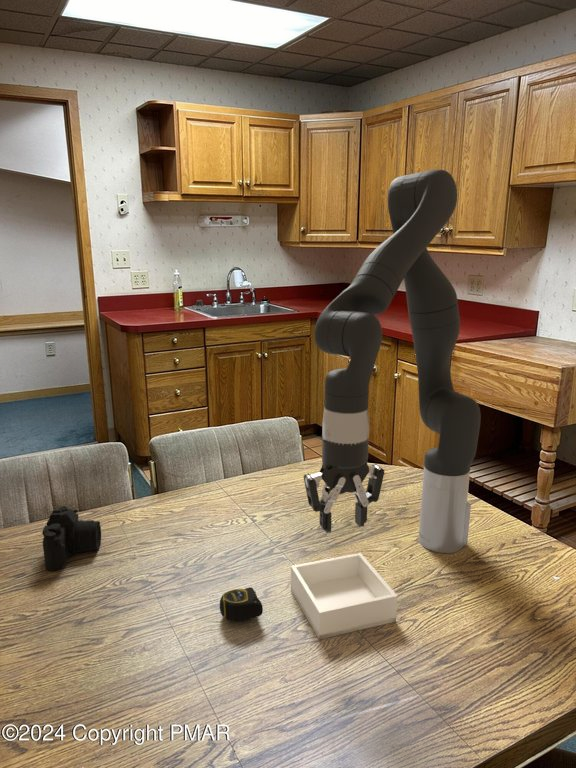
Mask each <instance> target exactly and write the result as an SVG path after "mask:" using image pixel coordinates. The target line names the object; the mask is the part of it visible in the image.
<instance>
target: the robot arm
mask: <svg viewBox="0 0 576 768" xmlns="http://www.w3.org/2000/svg"><path fill="white" fill-rule="evenodd" d="M457 202H458V189H457V184H456V182H455V179H454V177H453V176H452V174H451V173H450V172H449V171H447V170H444V169H431V170H426V171H420V172H414V173H410V174H406V175H401V176H398V177H396V178H394V179H393V180H392V181H391V183H390V185H389V187H388V190H387V208H388V216H389V220H390V224H391V229H392V233H393V234H392V235H391V236H389V237H388V238H387V239H385V240H384V241H383V242H381V243H380V244H379V245H378V246H377V247H376V248H375V249H374V250H373V251H372V252H371V253H369V255H368V256H367V257H366V259H365V260H364V262H363V263H362V264H361V266H360V268H359V270H358V272H357V273H356V275H355V277H354V279H353V280H352V282H351V283H350V284H349V286H348V287H347V288H345V289H343V290H342V292H340V293H339V295H337V296H336V297H335V298H334V299H333V300H332V301H331V302H330V303H329V304H328V305H327V306H326V307H325V308H324V309H323V311H322V312H321V313H320V314H319V316H318V318H317V320H316V323H315V325H314V326H315V327H314V330H313V331H314V333H313V337H314V342H315V344H316V347H317V348H318V349H319V350H320V351H322V352H323V353H327V354H331V355H335V356H337V355H338V356H343V357H349V358H350V359H349V363H348V365H347V367H346V368H345V367H344V368H337V369H332V370H331V371H329V372H327V374H326V375H325V379H324V398H323V399H324V404H323V415H322V431H321V433H322V434H321V436H322V437H321V439H322V440H321V444H322V445H321V463H322V464H321V467H320V469H319V472H316V473H314V474H310V473H305V474H304V475H303V482H304V487H305V492H306V498H307V502H308V505H309V507H311V508H312V510H313V511H314V512H316V513H318V512H319V526H320V527H321V528H322V530H323V531H325V533H326V534H327V533H329V534H330V533H332V512H331V511H332V508H333V505H334V503H335V502H337V500H338V498H339V495H342V494H343V495H344V494H346V493H353V494H354V496H355V497H354V498H355V500H356V502H355V503H354V504H355V508H354V509H355V510H354V514H355V515H354V522H355V524H356V525H357V527H359V528H361V527H364V526H365V523H367V520H368V507H369V505H370V504H371V503H372V502H373V503H376V502H378V501H379V499H380V494H381V490H382V484H383V480H384V475H385V469H383V467H381V466H379V464H377V463H373V464H371V465H369V464H368V460H369V443H370V442H369V440H370V439H369V435H370V434H369V433H370V415H369V396H370V395H369V392H370V382H371V379H372V375H373V372H374V371H373V370H374V367H375V364H376V361H377V357H378V354H379V352H380V349H381V346H382V341H383V327H382V324H381V323H380V320H379V319H378V318H377V316H378V315H382V314H383V313H384V312H386V310H388V308H389V306H390V305H391V302H392V301H393V299H394V297H395V295H396V294H397V292H398V291H399V288H400V286H401V284H402V282H403V281H404V288H405V295H406V296H405V297H406V304H407V311H408V319H409V325H410V329H411V335H412V340H413V348H414V355H415V362H416V369H417V379H418V380H417V383H418V407H419V415H420V417H421V421H422V423H423V424H424V426H426V427H427V428H428V429H429V430H431V431H432V432H434V433H436V434H438V435H439V439H438V445H437V447H433V448H430V449H429V450H427V451H426V452H425V453H424V460H423V473H422V474H423V475H422V486H421V502H420V515H419V529H418V542H419V544H420V545H421V546H422V547H424V548H425V549H427V550H429V551H432V552H435V553H440V554H452V553H453V554H454V553H457V552H459V551H461V550H462V548H464V547H466V546H468V539H469V529H470V520H471V509H472V505H471V503H470V502H469V501H468V497H469V487H470V486H469V484H470V475H471V474H470V473H471V465H472V463H473V461H474V458H475V457H476V453H477V448H478V441H479V435H480V428H481V421H482V420H481V419H482V417H481V409H480V406H479V403H477V401H476V400H475V399H474V398H473V397H469V396H467V395H466V394H462V393H460V392H457V391H455V389H454V386H453V382H452V381H453V380H452V375H451V366H450V365H451V358H452V354H453V352H454V349H455V346H456V344H457V343H458V342H457V341H458V339H459V334H460V329H461V319H460V310H459V303H458V301H459V300H458V295H457V293H456V292H457V291H456V289H455V288H454V286H453V284H452V283H451V281H450V280H449V279H448V276H447V275H446V274H444V272H443V271H442V270H441V268H440V267H439V266H438V264H437V263H436V262H435V261H434V259H433V257H432V256H431V254H430V253H429V249H428V246H429V245H430V244H431V243H432V242H433V240H434V239H435V237H436V236H438V234H439V233H440V231H441V230H442V229H443V228H444V227H445V226H446V224H447V223H448V222H449V220H450V219H451V217H452V216H453V214H454V213H455V209H456V207H457ZM367 476H368V482H367V486H366V490H365V488H364V485H363V482H364V480H365V479H366V478H367ZM321 481H323V482H324V486H323V488H322V490H321V496H320V497H319V492H318V488H319V487H320V483H321Z"/></svg>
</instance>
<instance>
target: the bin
mask: <svg viewBox="0 0 576 768" xmlns="http://www.w3.org/2000/svg"><path fill="white" fill-rule="evenodd" d="M290 592H291V594H292V595H293V597H294V598H295V600H296V602H297V604H298V606H299V607H300V608H301V610H302V612H303V614H304V616H305V618H306V619H307V621H308V623H309V625H310V627H311V628H312V630H313V632H314V633H315V635H316V637H317V638H318V640H323V639H328V638H331V637H335V636H341V635H345V634H350V633H352V632H358V631H361V630H367V629H370V628H375V627H378V626H384V625H388V624H392V623H395V622H397V611H398V594H396V592H395V591H394V590H393V588H392V587H390V585H389V584H388V583H387V582H386V581H385V579H384V578H383V577H382V576H381V574H380V573H378V571H377V570H376V569H375V568H374V566H373V565H372V564H371V563H370V562H369V560H367V558H366V557H365V556H364V555H363V554H362V552H358V553H352V554H347V555H343V556H336V557H331V558H326V559H321V560H316V561H315V560H314V561H310V562H304V563H299V564H294V565H290Z"/></svg>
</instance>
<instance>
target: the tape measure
mask: <svg viewBox="0 0 576 768" xmlns="http://www.w3.org/2000/svg"><path fill="white" fill-rule="evenodd" d="M262 603H263V602H262V601H261V600H260V599H259V598H258V596H257V592H256V591H255V589H254V588H253V587H245V588H244V589H243V588H235V589H231V590H228V591H225V592H224V593H223V594H222V595H221V597H220V600H219V611H220V614H221V617H223V618H224V620H226V621H229V622H232V623H233V622H235V623H239V622H240V623H241V622H246V621H248V620H252V619H255V618H258V617H260V616H262V615H263V610H264V608H263V604H262Z"/></svg>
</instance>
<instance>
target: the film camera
mask: <svg viewBox="0 0 576 768" xmlns="http://www.w3.org/2000/svg"><path fill="white" fill-rule="evenodd" d="M41 533H42V536H43V538H42V549H43V556H44V559H43V560H44V564H45V565H44V569H45V571H47V572H52V573H53V572H58V571H61V570H62V569H64V566H65V565H66V564H67V559H68V557H69V556H70V555H71V556H72V555H75V554H77V552H79V553H84V552H93V551H95V550H99V549H100V548H101V544H102V543H101V542H102V528H101V522H100V520H93V519H90V520H84V519H81V520H80V519H79V513H78V510H77V509H71V508H68V506H66V505H62V506H61V507H58V509H57V510H56V509H55V510H54V509H53V510H52V511H51V513H50V515H49V518H48V519H47V521H46V525H44V527H43V528H42V532H41Z"/></svg>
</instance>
